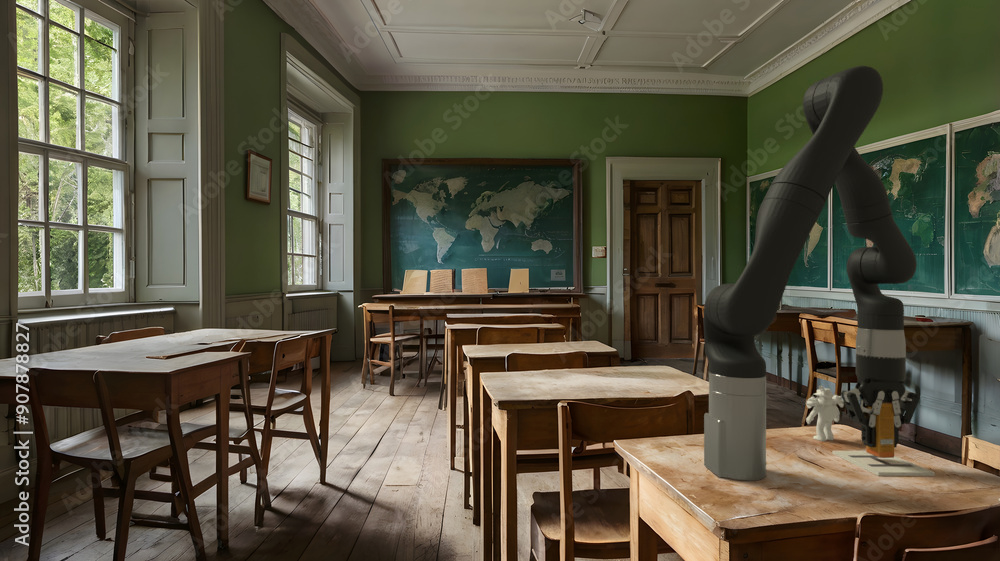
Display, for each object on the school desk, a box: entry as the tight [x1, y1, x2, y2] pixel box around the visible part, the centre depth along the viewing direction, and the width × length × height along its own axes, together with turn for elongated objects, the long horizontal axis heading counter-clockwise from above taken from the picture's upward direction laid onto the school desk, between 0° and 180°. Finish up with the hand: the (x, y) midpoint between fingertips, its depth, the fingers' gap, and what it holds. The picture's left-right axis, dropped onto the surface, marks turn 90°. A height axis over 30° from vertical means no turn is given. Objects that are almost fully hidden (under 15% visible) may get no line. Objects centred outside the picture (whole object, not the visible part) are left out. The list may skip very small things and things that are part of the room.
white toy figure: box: [805, 385, 845, 442], centre depth 112 cm, size 9×4×12 cm, turn 106°
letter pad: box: [832, 450, 936, 477], centre depth 96 cm, size 10×12×1 cm
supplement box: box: [865, 403, 895, 458], centre depth 96 cm, size 3×3×10 cm
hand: (880, 445), depth 96 cm, fingers closed on supplement box, 3 cm apart
